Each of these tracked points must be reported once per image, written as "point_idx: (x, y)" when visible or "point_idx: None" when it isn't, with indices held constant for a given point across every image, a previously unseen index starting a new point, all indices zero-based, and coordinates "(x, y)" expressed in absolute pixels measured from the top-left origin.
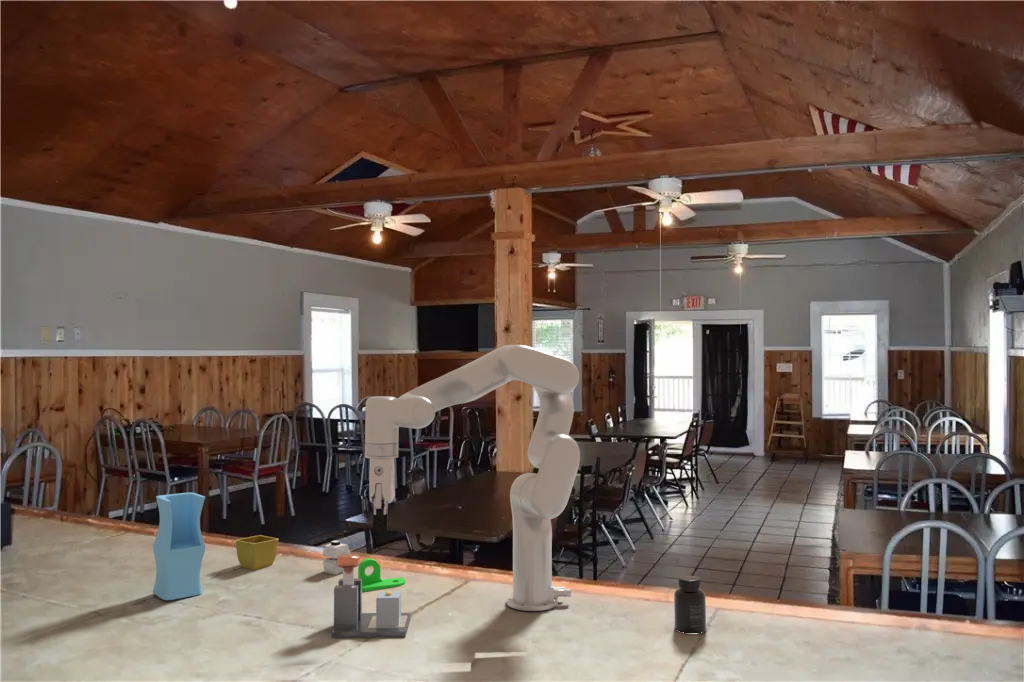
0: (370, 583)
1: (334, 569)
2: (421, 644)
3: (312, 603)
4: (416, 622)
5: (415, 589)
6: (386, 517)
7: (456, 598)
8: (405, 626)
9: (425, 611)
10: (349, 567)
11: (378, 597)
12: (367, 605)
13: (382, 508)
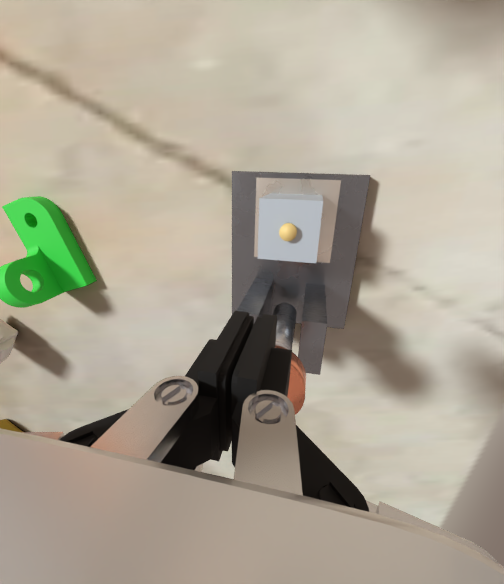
0: (57, 271)
1: (7, 340)
2: (432, 129)
3: (152, 358)
4: (267, 154)
5: (43, 172)
6: (261, 373)
7: (88, 53)
8: (333, 177)
9: (190, 136)
10: (305, 372)
11: (311, 257)
12: (156, 268)
13: (366, 503)
